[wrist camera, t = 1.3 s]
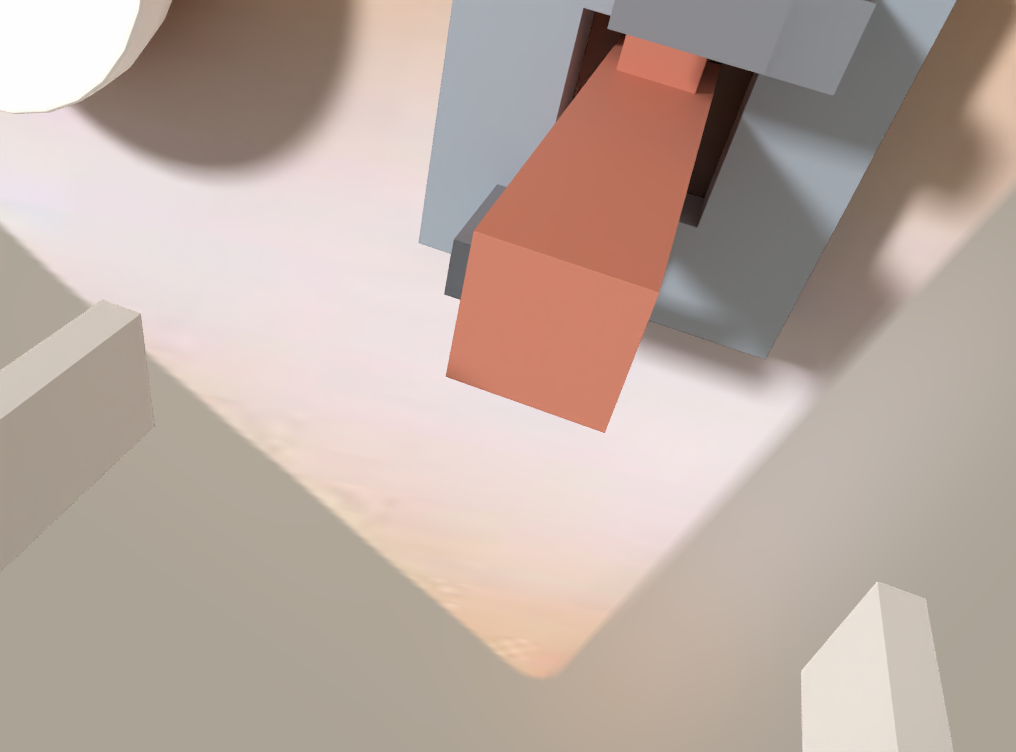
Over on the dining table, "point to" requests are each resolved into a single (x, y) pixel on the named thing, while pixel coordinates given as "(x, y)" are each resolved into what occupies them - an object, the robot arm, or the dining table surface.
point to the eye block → (746, 155)
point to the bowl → (69, 48)
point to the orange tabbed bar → (584, 238)
